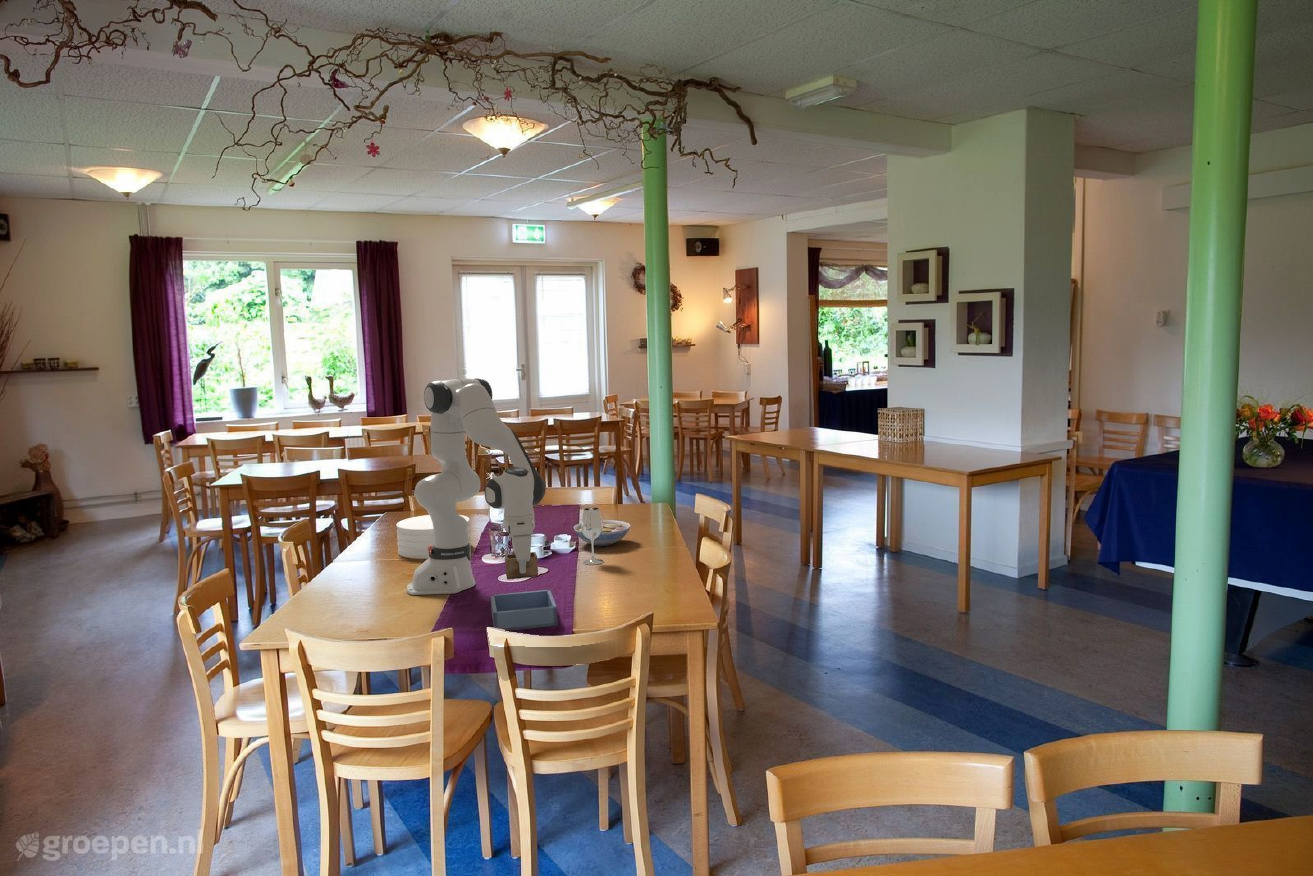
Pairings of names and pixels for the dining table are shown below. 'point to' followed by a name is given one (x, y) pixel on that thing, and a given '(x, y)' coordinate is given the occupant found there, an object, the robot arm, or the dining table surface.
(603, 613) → the dining table surface
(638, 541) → the dining table surface
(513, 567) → the walnut crate
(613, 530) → the ramen bowl
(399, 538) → the plate stack
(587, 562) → the wineglass
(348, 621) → the dining table surface
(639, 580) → the dining table surface
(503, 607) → the blue crate
